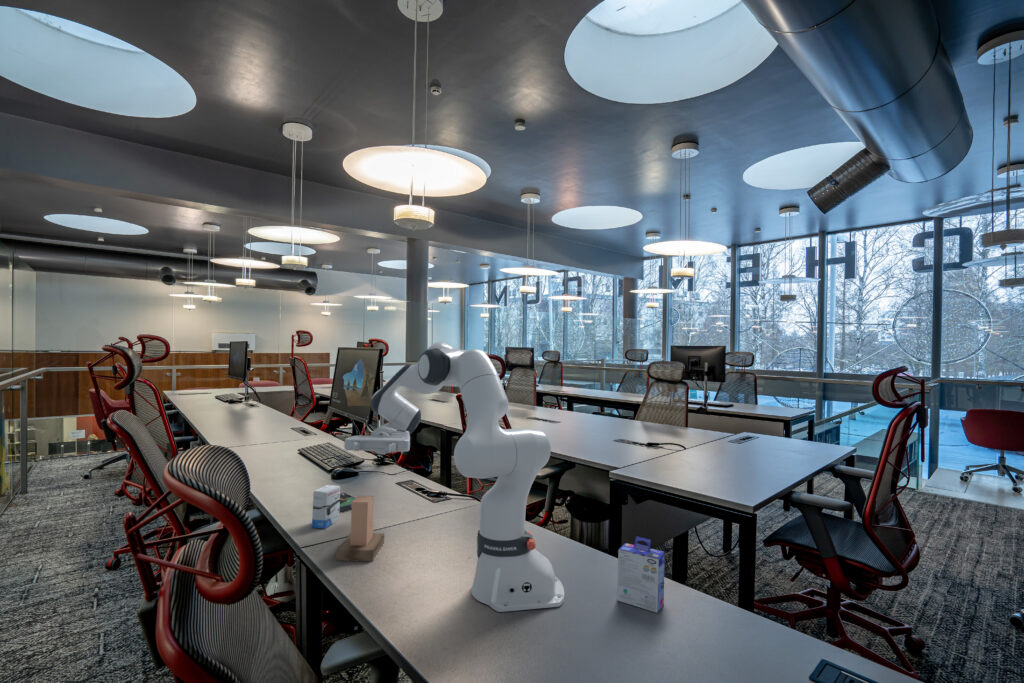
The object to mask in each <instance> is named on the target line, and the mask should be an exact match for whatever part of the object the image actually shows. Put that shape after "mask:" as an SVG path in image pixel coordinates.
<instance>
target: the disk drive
mask: <svg viewBox="0 0 1024 683" xmlns="http://www.w3.org/2000/svg"><path fill="white" fill-rule="evenodd" d="M355 498H356V497H354V496H352V495H351V494H348V493H347V492H346V493H345V492H343V493H340V507H339V514H341V513H340V512H342V513H345V512H344V511H346V512H349V511H348V510H350V511H352V501H353V500H354V499H355Z"/></svg>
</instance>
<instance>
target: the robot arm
mask: <svg viewBox="0 0 1024 683" xmlns="http://www.w3.org/2000/svg"><path fill="white" fill-rule="evenodd" d="M444 386H445V387H455V388H459V391H460V394H461V398H462V400H463V403H464V406H465V412H466V414H467V415H466V417H467V423H466V424H467V425H466V428H465V432H464V433H463V434H462V436H461V437H460V438H459V440H458V441H457V442H456V444H455V447H454V451H453V459H454V460H453V461H454V464H455V467H456V469H457V471H458V472H459V474H461V475H462V476H463V477H465V478H472V479H489V478H495V477H496V478H497V479H496V481H495V483H494V484H493V485H492V486H491V487H490V489H489V490H487V491H486V492H485V493H484V494H483V496H482V497H481V500H480V503H479V505H480V506H479V528H478V531H477V536H476V556H477V560H476V568H475V574H474V578H473V582H472V585H471V587H470V593H471V595H472V597H473V598H474V599H475V600H477V601H478V602H480V603H483V604H485V605H487V606H489V607H491V608H492V609H493V610H494V611H495V612H498V613H499V612H500V613H501V612H503V613H505V612H515V611H524V610H535V609H538V610H539V609H547V608H558V607H561V605H562V604H563V603H564V602H565V589H564V585H563V583H562V582H561V580H560V579H559V578H558V577H557V576H556V575H555V570H554V568H553V565H552V563H551V562H550V560H549V559H548V557H546V556H545V555H543V554H542V553H541V552H539V551H538V550H537V549H536V541H535V539H534V536H533V535H532V534H531V533H532V532H531V531H530V530H528V531H527V530H525V529H526V528H525V527H526V509H527V502H528V498H529V494H530V491H531V488H532V485H533V484H534V481H535V480H536V477H537V476H538V475H539V473H540V471H541V470H543V468H544V467H545V466H546V465H547V464H548V462H549V460H550V457H551V452H552V448H551V443H550V440H549V438H548V436H547V435H546V434H545V432H544V431H542V430H540V429H536V428H531V427H530V428H529V427H517V428H507V429H506V428H505V429H504V428H502V427H501V426H500V423H499V422H500V420H501V419H502V418H503V417H504V416H505V415H506V413H507V412H508V409H509V398H508V396H507V394H506V392H505V389H504V386H503V383H502V381H501V379H500V376H499V374H498V371H497V370H496V367H495V366H494V364H493V361H491V359H490V357H489V356H488V354H487V353H486V352H485V351H483V350H481V349H479V348H478V349H477V348H474V349H467V350H466V349H458V348H454V347H453V346H452V345H450V344H449V343H447V342H443V341H439V342H434V343H432V344H431V345H430V346H429V347H428V348H427V349H426V350H424V351H423V352H422V353H421V355H420V357H419V359H418V361H417V362H416V363H415V364H409V363H408V364H405V365H404V366H403V367H401V368H400V369H399V370H398V371H397V372H396V373H395V374H394V375H393V376H392V377H391V378H390V379H389V380H388V381H387V382H386V383H385V385H383V386H382V387H381V388H380V389H378V390H377V391H376V392H374V393H373V395H372V397H371V399H370V401H369V402H370V409H371V411H373V413H375V414H377V416H378V415H379V416H381V418H383V419H385V420H386V421H387V422H386V423H384V424H382V425H381V426H379V427H377V428H376V429H374V430H372V432H371V433H370V434H369V435H352V436H348V437H346V438H345V439H344V445H343V446H344V450H346V451H355V452H359V451H365V452H366V451H367V452H369V451H370V452H374V453H375V454H377V455H386V454H392V453H396V452H398V453H399V452H403V453H404V452H409V451H410V448H411V435H412V434H413V433H414V432H415V430H416V429H417V428H418V426H419V425H420V423H421V421H422V420H421V419H422V412H421V409H419V407H418V406H415V405H414V404H413V403H412V402H410V401H408V399H406V398H405V397H404V396H402V394H400V393H399V392H398V391H397V389H399V388H400V387H404V388H407V389H409V390H411V391H414V392H416V393H418V394H421V395H433V394H435V393H437V392H439V391H440V390H441V389H442V388H443V387H444Z"/></svg>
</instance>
